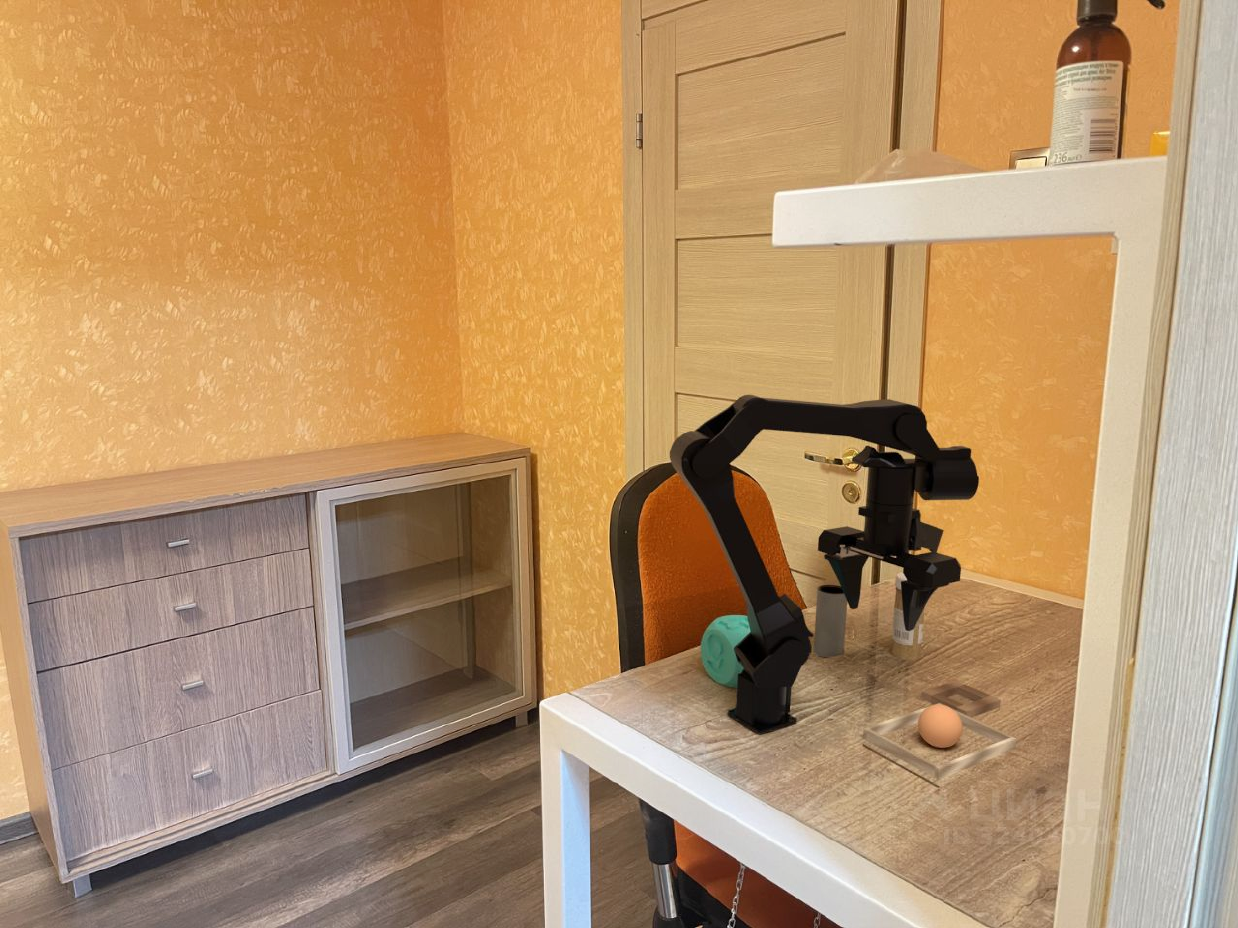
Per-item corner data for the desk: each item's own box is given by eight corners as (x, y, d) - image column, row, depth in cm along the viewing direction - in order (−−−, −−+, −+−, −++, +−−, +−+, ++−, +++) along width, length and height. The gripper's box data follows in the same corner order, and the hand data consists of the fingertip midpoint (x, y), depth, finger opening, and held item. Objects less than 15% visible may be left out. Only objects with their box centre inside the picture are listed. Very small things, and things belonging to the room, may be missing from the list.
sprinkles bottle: (927, 663, 133) (934, 577, 131) (904, 668, 131) (911, 581, 129) (905, 653, 137) (912, 569, 135) (882, 657, 135) (889, 572, 133)
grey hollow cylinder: (832, 645, 140) (836, 583, 138) (849, 656, 136) (854, 592, 134) (807, 649, 138) (811, 585, 136) (824, 660, 134) (828, 594, 132)
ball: (942, 759, 103) (945, 720, 102) (907, 741, 108) (910, 703, 107) (969, 748, 106) (972, 709, 105) (935, 730, 110) (937, 693, 109)
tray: (937, 787, 99) (939, 768, 98) (862, 745, 108) (863, 728, 107) (1014, 756, 106) (1016, 738, 106) (938, 719, 115) (939, 702, 115)
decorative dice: (777, 681, 126) (780, 627, 125) (735, 693, 122) (737, 638, 121) (740, 661, 133) (742, 610, 131) (698, 673, 128) (700, 620, 127)
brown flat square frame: (965, 726, 114) (966, 711, 113) (920, 705, 119) (921, 691, 119) (999, 713, 117) (1000, 699, 117) (954, 694, 123) (955, 680, 123)
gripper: (995, 509, 108) (983, 630, 111) (876, 482, 124) (869, 589, 126) (934, 519, 102) (923, 647, 105) (818, 489, 118) (811, 601, 121)
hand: (880, 619), depth 114 cm, fingers open, 9 cm apart
